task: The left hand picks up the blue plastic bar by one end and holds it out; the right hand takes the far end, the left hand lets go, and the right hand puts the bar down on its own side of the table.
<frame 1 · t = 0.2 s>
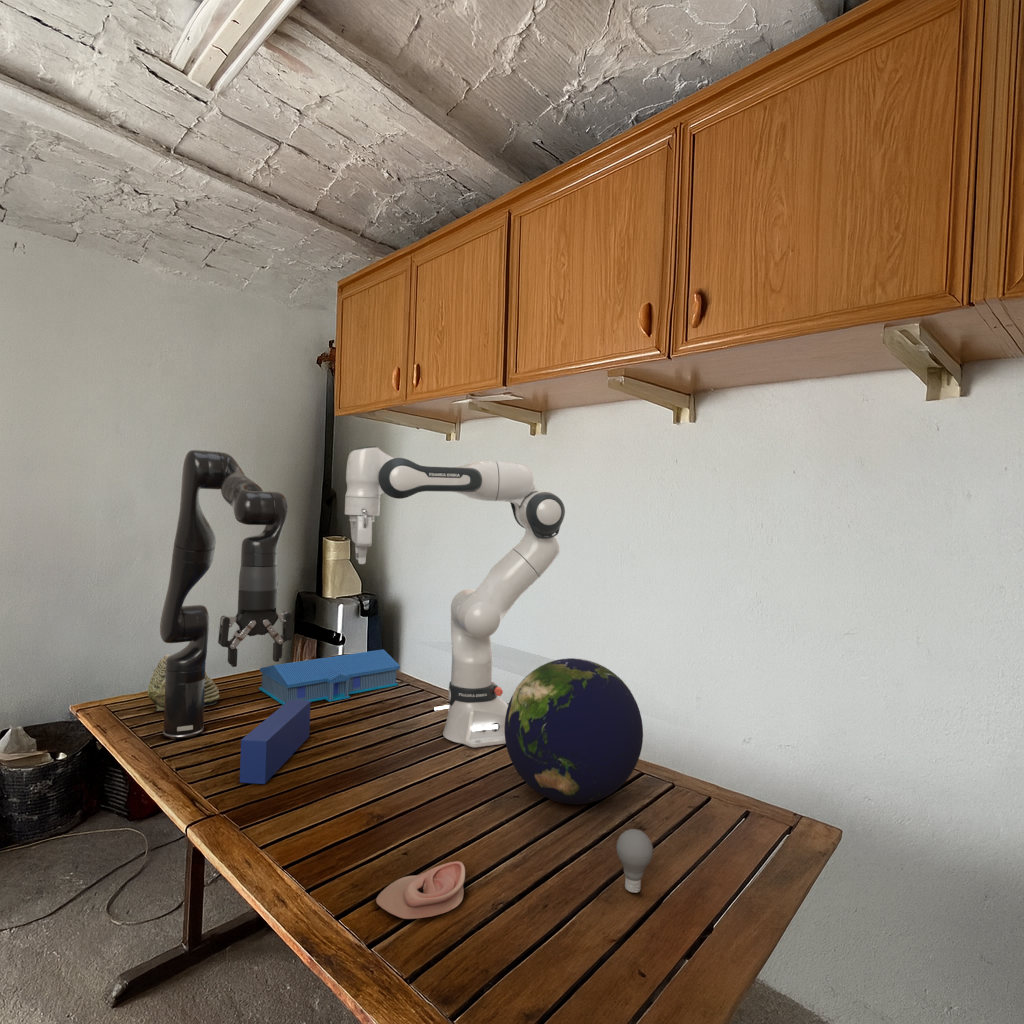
left hand: (255, 663, 133), 28 cm above the table, tool pointing down, fingers open, 8 cm apart
right hand: (360, 561, 165), 47 cm above the table, tool pointing down, fingers open, 8 cm apart
fossil: (183, 706, 185), on the table
model building: (332, 688, 208), on the table
anatomical model: (421, 898, 101), on the table
bar: (277, 757, 152), on the table
globe: (569, 798, 138), on the table
light bulb: (632, 891, 106), on the table
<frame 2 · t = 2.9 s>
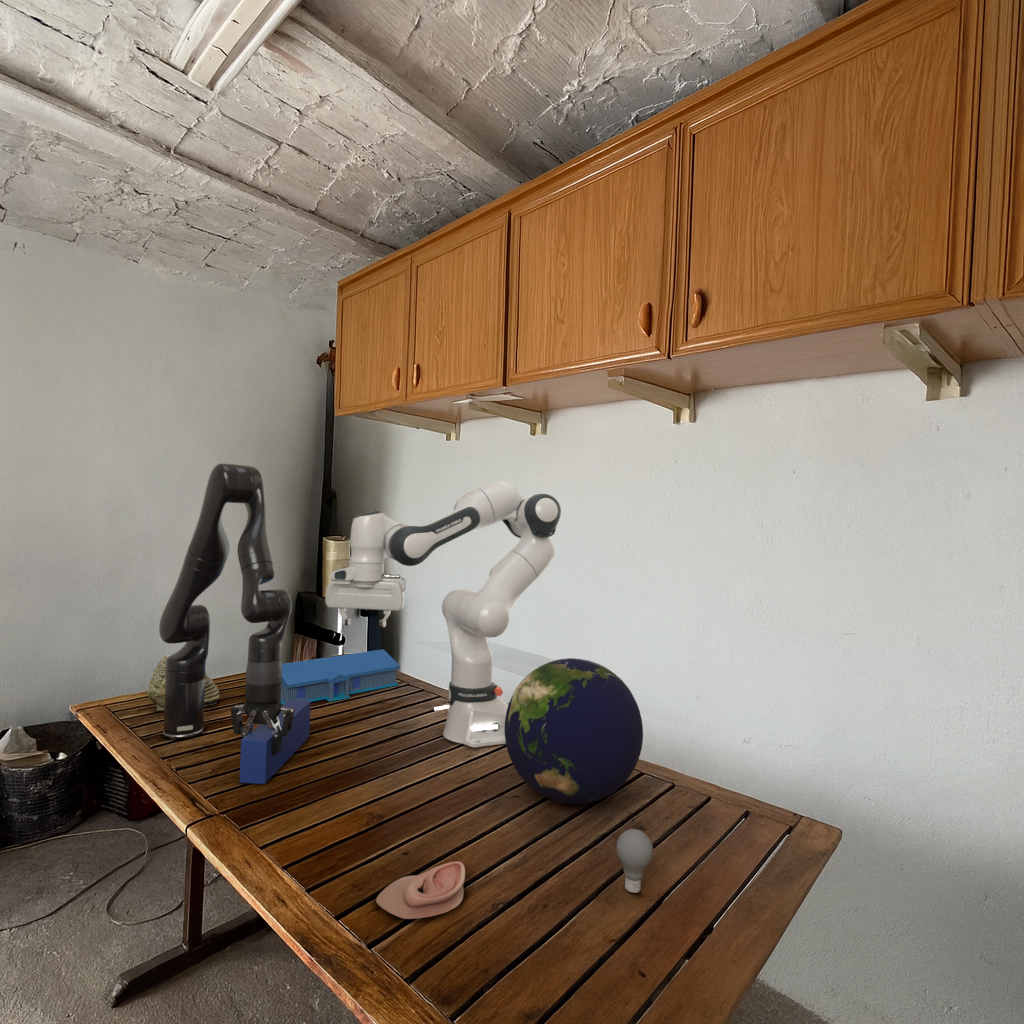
left hand: (261, 752, 143), 5 cm above the table, tool pointing down, fingers closed on bar, 5 cm apart
right hand: (364, 625, 165), 30 cm above the table, tool pointing down, fingers open, 8 cm apart
bar: (277, 757, 152), on the table, touching left hand
everything else where it was.
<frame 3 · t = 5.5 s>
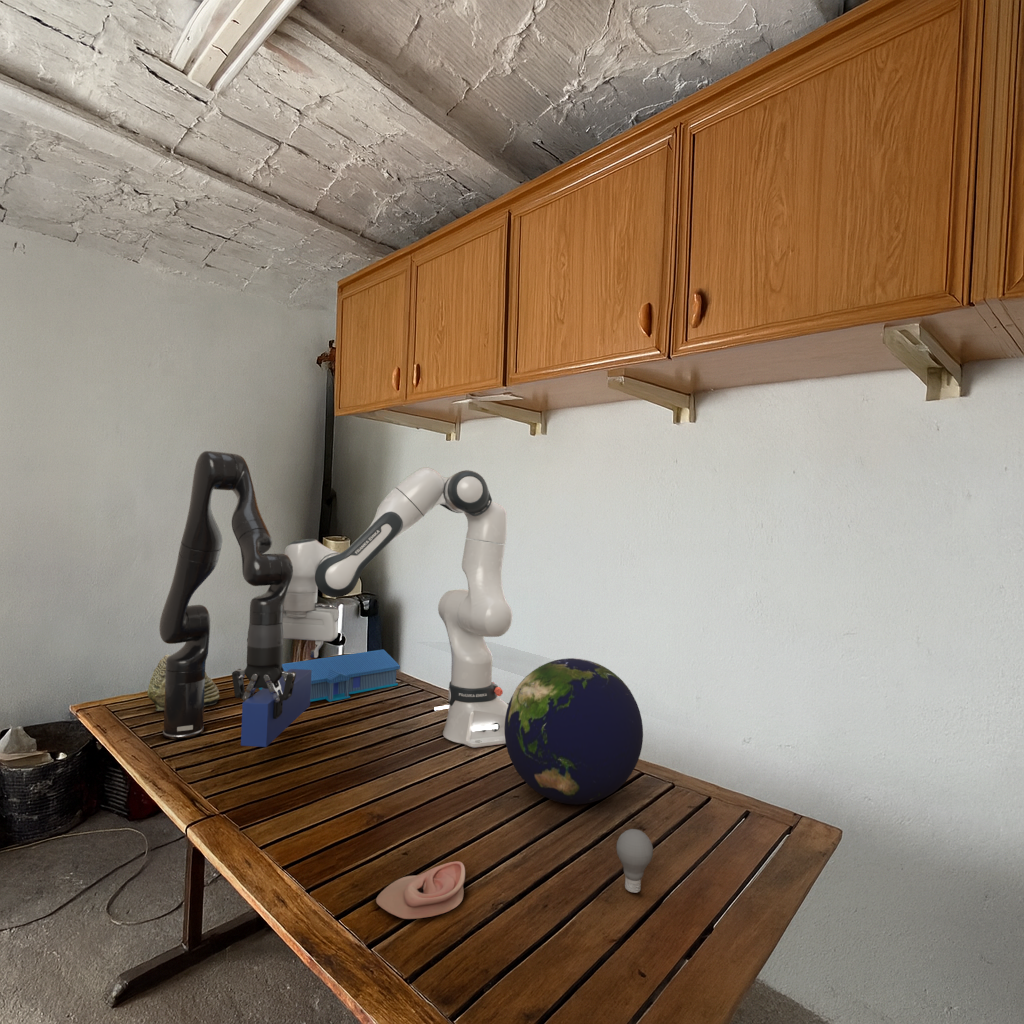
left hand: (262, 716, 143), 13 cm above the table, tool pointing down, fingers closed on bar, 5 cm apart
right hand: (295, 656, 162), 22 cm above the table, tool pointing down, fingers open, 8 cm apart
bar: (278, 723, 152), point 8 cm above the table, touching left hand
everything else where it was.
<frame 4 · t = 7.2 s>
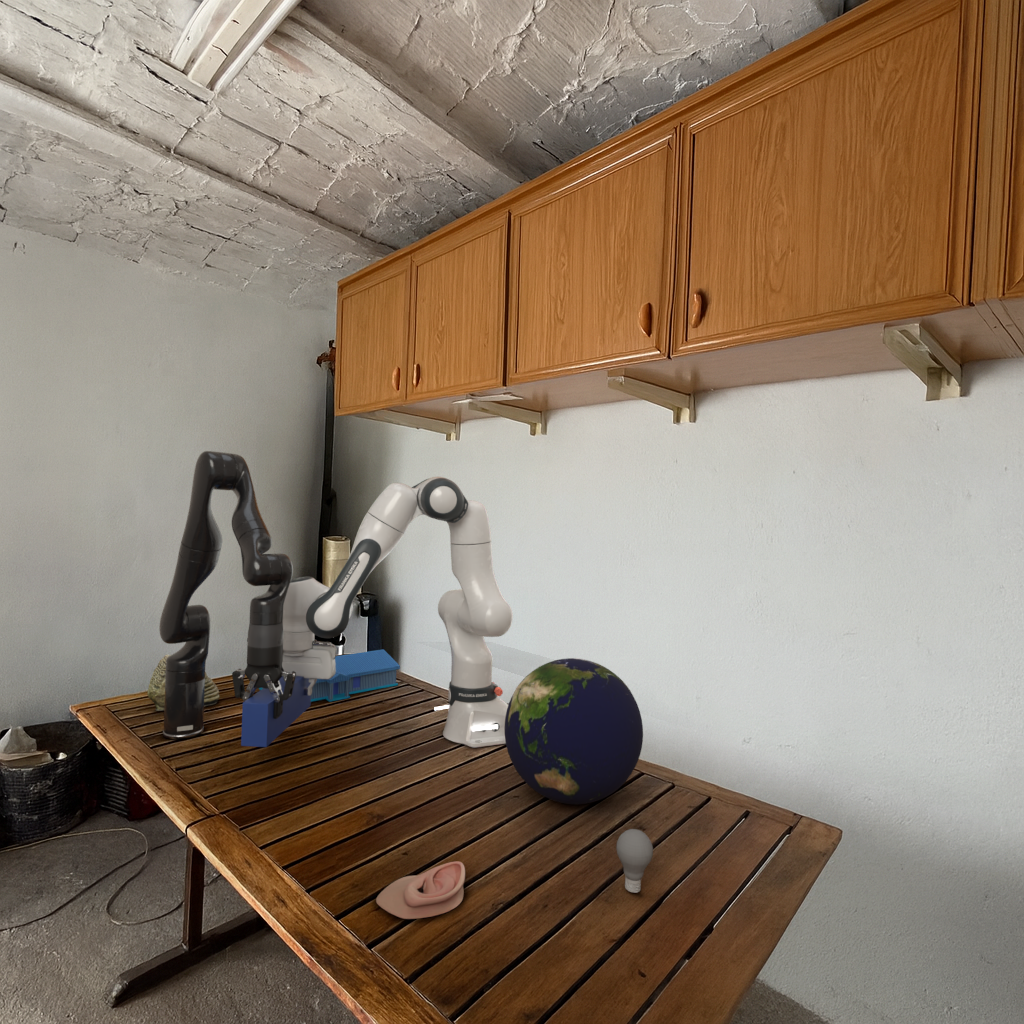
left hand: (262, 716, 143), 13 cm above the table, tool pointing down, fingers closed on bar, 5 cm apart
right hand: (294, 694, 162), 12 cm above the table, tool pointing down, fingers closed on bar, 5 cm apart
bar: (278, 724, 152), point 8 cm above the table, touching left hand, right hand
everything else where it was.
when the left hand's fingers open (13 cm above the table, at t = 8.2 s): bar stays where it is, held by the right hand.
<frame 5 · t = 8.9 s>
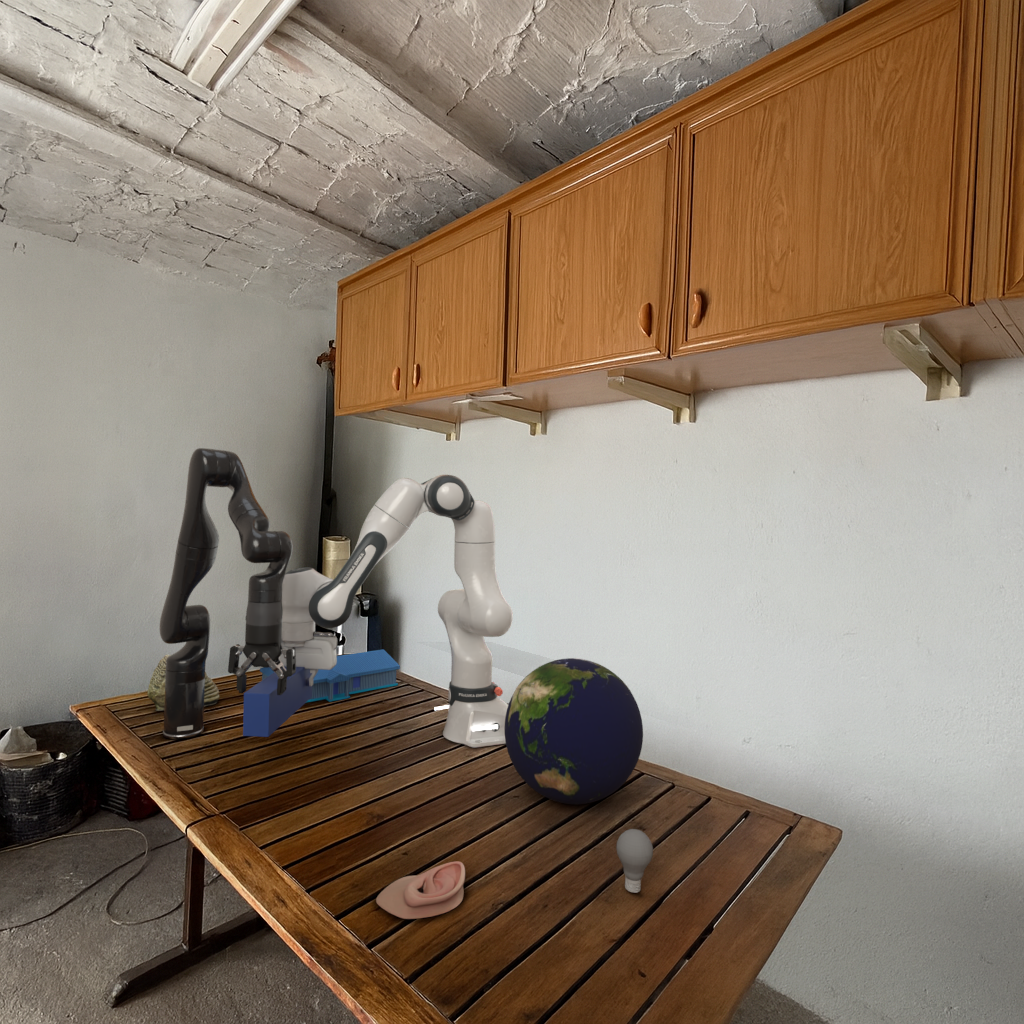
left hand: (261, 693, 141), 19 cm above the table, tool pointing down, fingers open, 8 cm apart
right hand: (295, 684, 162), 15 cm above the table, tool pointing down, fingers closed on bar, 5 cm apart
bar: (280, 714, 152), point 10 cm above the table, touching right hand
everything else where it was.
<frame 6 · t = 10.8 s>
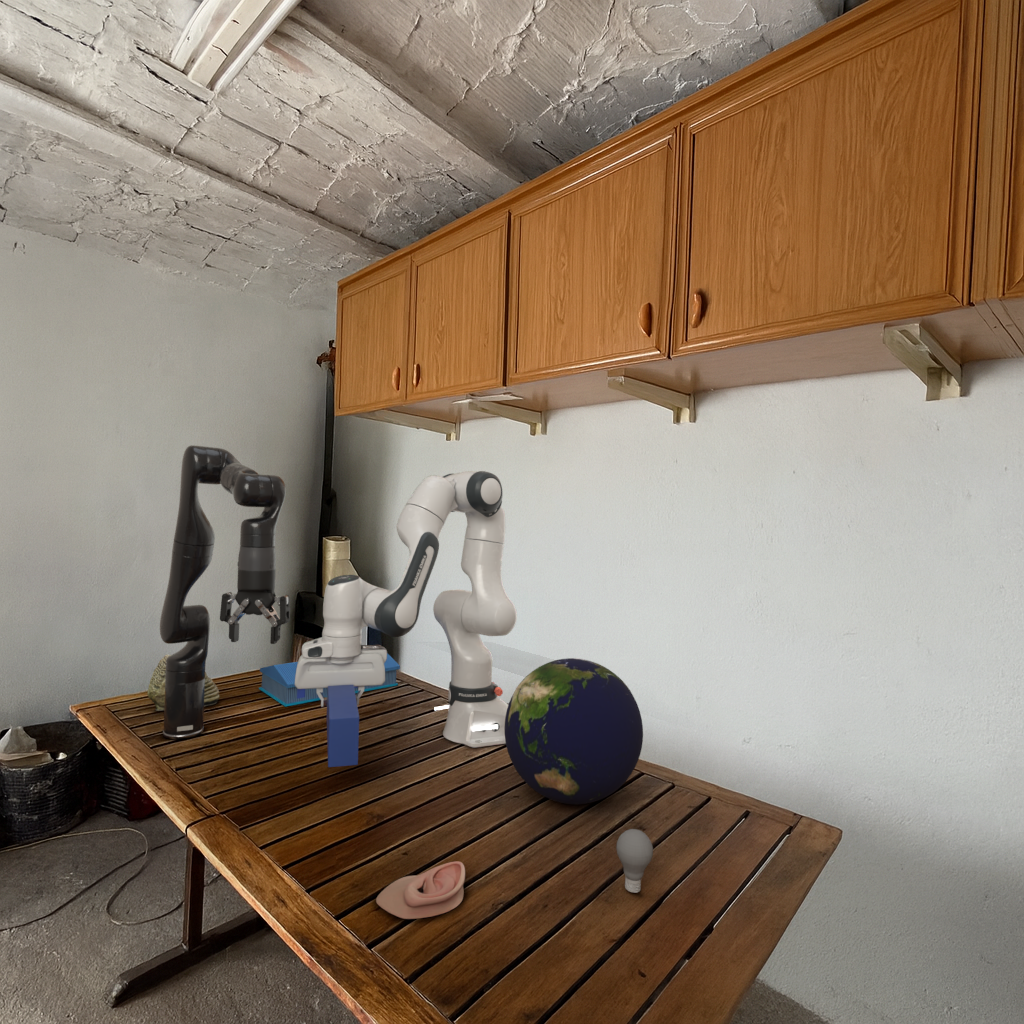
left hand: (254, 642, 136), 31 cm above the table, tool pointing down, fingers open, 8 cm apart
right hand: (339, 705, 147), 15 cm above the table, tool pointing down, fingers closed on bar, 5 cm apart
bar: (340, 739, 137), point 11 cm above the table, touching right hand
everything else where it was.
when the right hand's fingers open (6 cm above the table, at t = 14.7 s): bar stays where it is, on the table.
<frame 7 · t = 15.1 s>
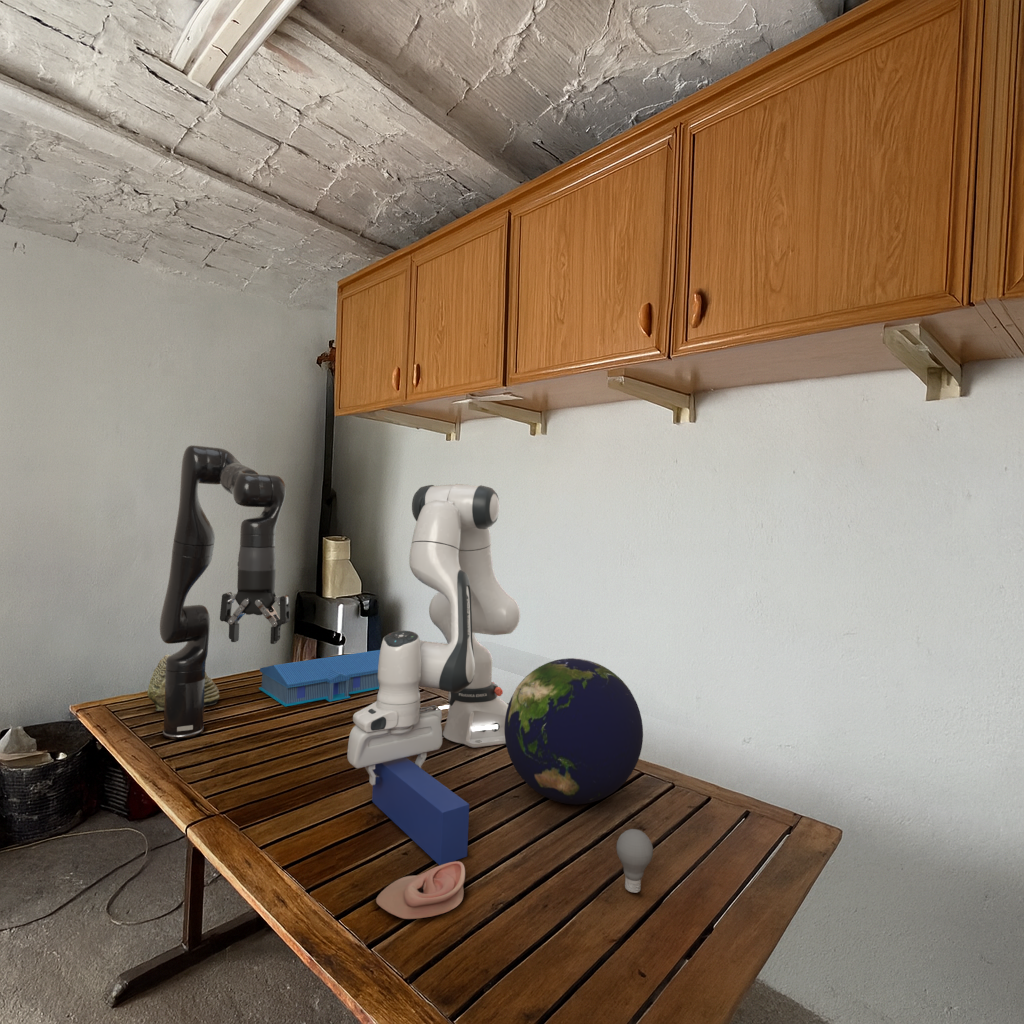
left hand: (254, 642, 136), 31 cm above the table, tool pointing down, fingers open, 8 cm apart
right hand: (395, 778, 131), 6 cm above the table, tool pointing down, fingers open, 8 cm apart
bar: (416, 827, 123), on the table
everything else where it was.
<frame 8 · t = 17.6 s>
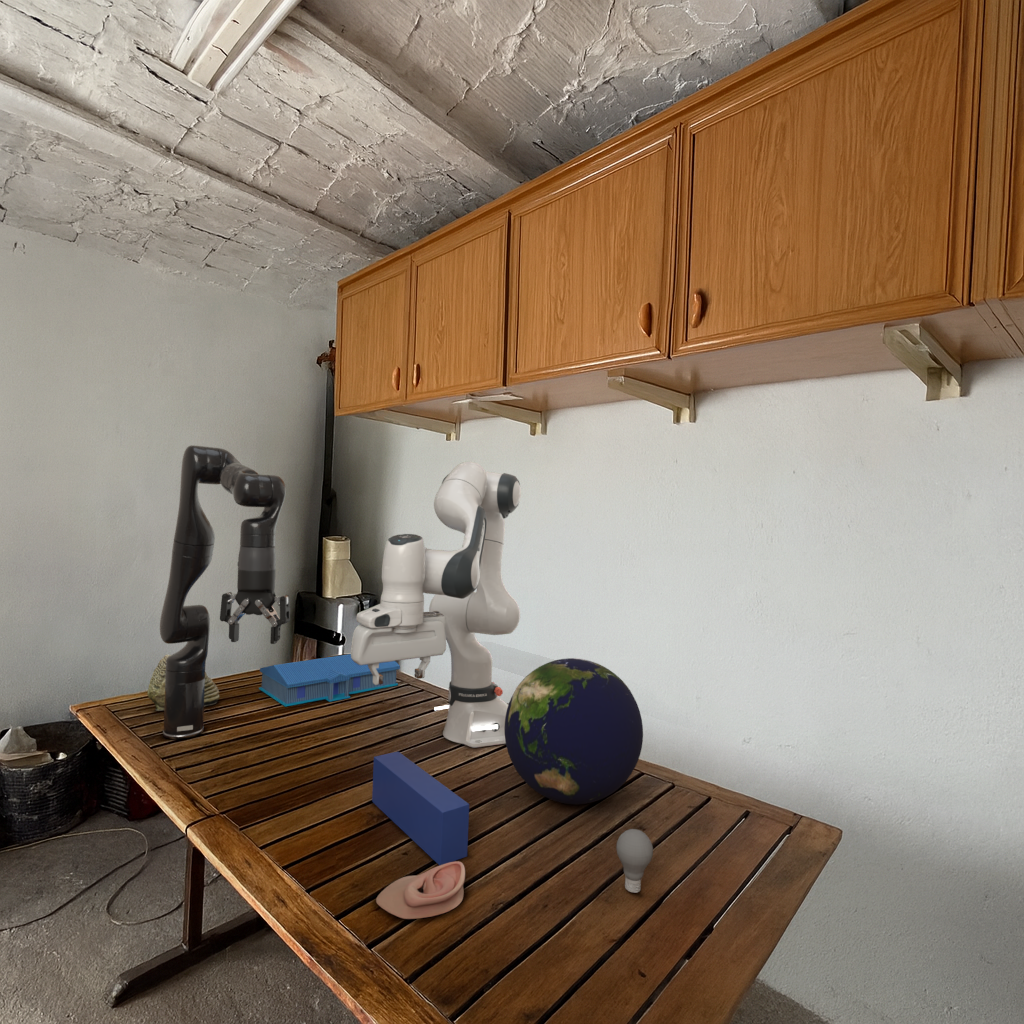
left hand: (254, 642, 136), 31 cm above the table, tool pointing down, fingers open, 8 cm apart
right hand: (399, 680, 130), 26 cm above the table, tool pointing down, fingers open, 8 cm apart
nothing on the table moved.
at the end: bar inside the target area (9.2 cm from its centre), on the table; the left hand is holding nothing; the right hand is holding nothing; bar at rest at the end (0.0 cm/s) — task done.
